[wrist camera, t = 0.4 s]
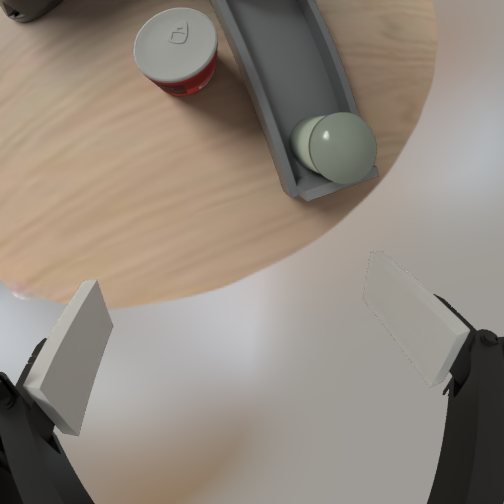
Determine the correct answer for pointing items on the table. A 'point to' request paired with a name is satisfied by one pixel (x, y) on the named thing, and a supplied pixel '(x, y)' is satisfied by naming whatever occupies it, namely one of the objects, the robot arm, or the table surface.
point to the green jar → (334, 146)
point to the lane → (288, 78)
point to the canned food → (177, 50)
